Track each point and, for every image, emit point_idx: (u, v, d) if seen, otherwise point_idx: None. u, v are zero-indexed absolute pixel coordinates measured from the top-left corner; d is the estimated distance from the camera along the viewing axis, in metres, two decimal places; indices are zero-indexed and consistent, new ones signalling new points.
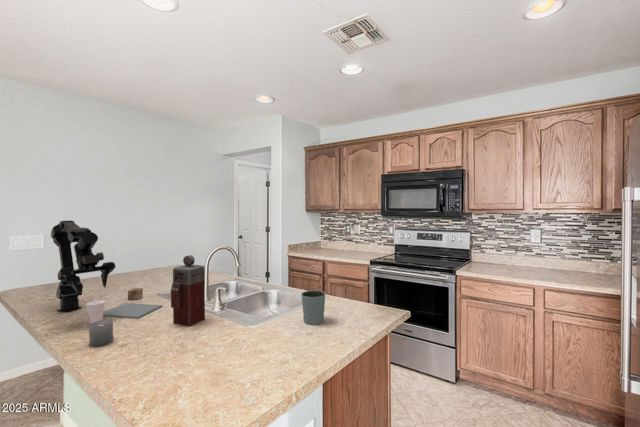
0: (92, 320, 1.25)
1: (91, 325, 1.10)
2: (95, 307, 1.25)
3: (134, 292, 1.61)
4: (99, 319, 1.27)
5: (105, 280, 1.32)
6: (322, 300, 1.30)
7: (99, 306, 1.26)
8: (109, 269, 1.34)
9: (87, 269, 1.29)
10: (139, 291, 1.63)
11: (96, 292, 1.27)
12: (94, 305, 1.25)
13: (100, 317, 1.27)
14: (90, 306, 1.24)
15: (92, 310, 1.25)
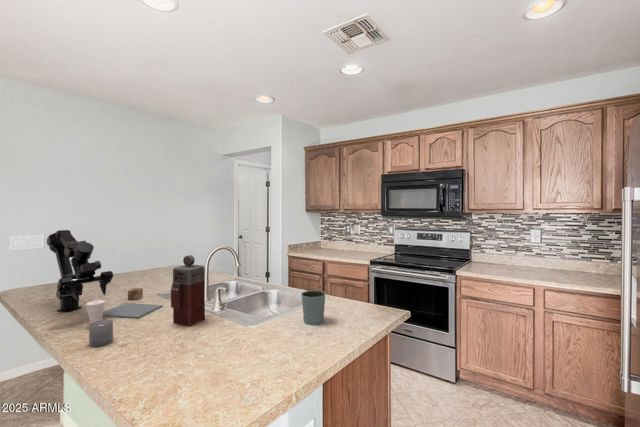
0: (92, 320, 1.25)
1: (91, 325, 1.10)
2: (95, 307, 1.25)
3: (134, 292, 1.61)
4: (99, 319, 1.27)
5: (104, 288, 1.34)
6: (322, 300, 1.30)
7: (99, 306, 1.26)
8: (107, 277, 1.37)
9: (86, 279, 1.32)
10: (139, 291, 1.63)
11: (96, 292, 1.27)
12: (94, 305, 1.25)
13: (100, 317, 1.27)
14: (90, 306, 1.24)
15: (92, 310, 1.25)
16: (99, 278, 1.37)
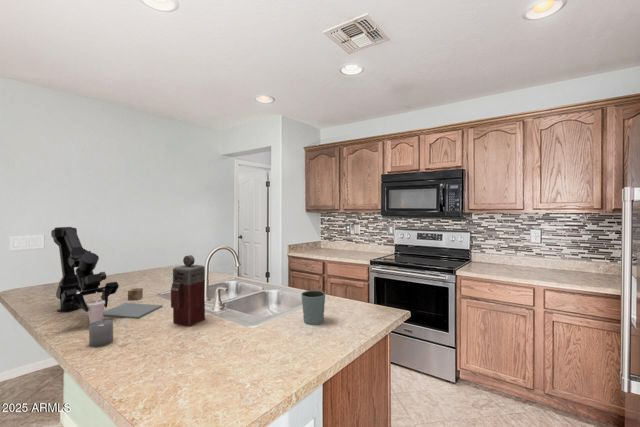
0: (92, 320, 1.25)
1: (91, 325, 1.10)
2: (95, 307, 1.25)
3: (134, 292, 1.61)
4: (99, 319, 1.27)
5: (106, 300, 1.30)
6: (322, 300, 1.30)
7: (99, 306, 1.26)
8: (109, 289, 1.32)
9: (94, 289, 1.30)
10: (139, 291, 1.63)
11: (96, 292, 1.27)
12: (94, 305, 1.25)
13: (100, 317, 1.27)
14: (90, 306, 1.24)
15: (92, 310, 1.25)
16: None
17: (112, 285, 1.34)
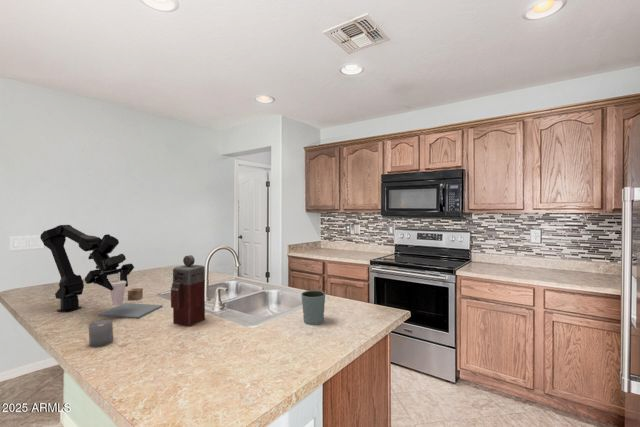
0: (116, 298, 1.34)
1: (91, 325, 1.10)
2: (119, 286, 1.34)
3: (134, 292, 1.61)
4: (122, 297, 1.36)
5: (126, 280, 1.40)
6: (322, 300, 1.30)
7: (123, 285, 1.35)
8: (127, 270, 1.42)
9: (113, 270, 1.38)
10: (139, 291, 1.63)
11: (119, 272, 1.36)
12: (119, 284, 1.34)
13: (123, 295, 1.36)
14: (115, 285, 1.33)
15: (116, 289, 1.34)
16: None
17: (129, 266, 1.43)
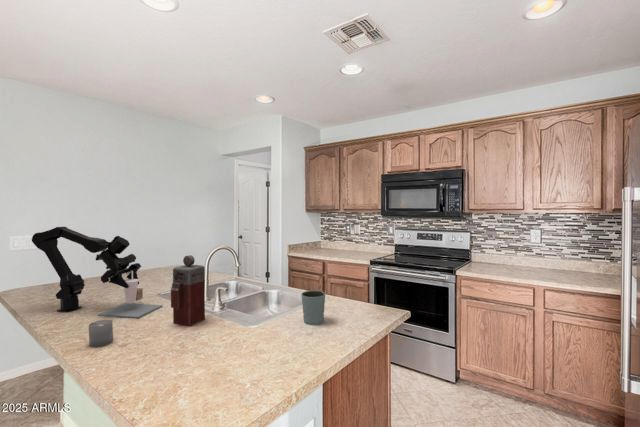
0: (130, 295, 1.43)
1: (91, 325, 1.10)
2: (134, 283, 1.43)
3: None
4: (135, 294, 1.45)
5: (137, 278, 1.48)
6: (322, 300, 1.30)
7: (137, 283, 1.45)
8: (136, 269, 1.50)
9: (124, 270, 1.46)
10: (139, 291, 1.63)
11: (132, 271, 1.45)
12: (134, 282, 1.43)
13: (136, 293, 1.45)
14: (130, 283, 1.42)
15: (131, 286, 1.43)
16: None
17: (137, 266, 1.52)
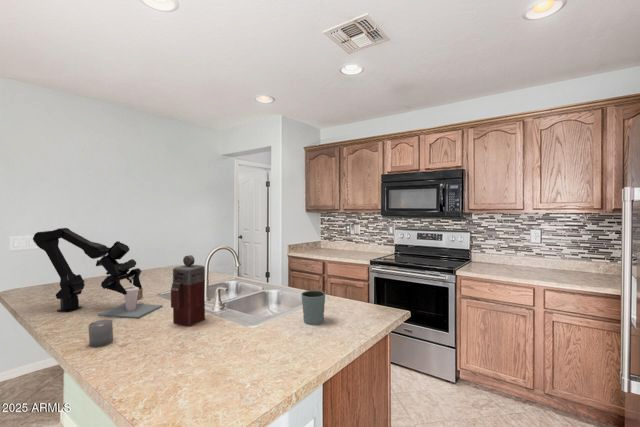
0: (131, 304, 1.43)
1: (91, 325, 1.10)
2: (134, 292, 1.43)
3: None
4: (136, 303, 1.45)
5: (139, 283, 1.50)
6: (322, 300, 1.30)
7: (137, 291, 1.45)
8: (139, 273, 1.52)
9: (123, 276, 1.45)
10: (139, 291, 1.63)
11: (132, 279, 1.45)
12: (134, 290, 1.43)
13: (136, 301, 1.46)
14: (130, 291, 1.42)
15: (132, 295, 1.43)
16: (130, 275, 1.50)
17: (138, 271, 1.52)
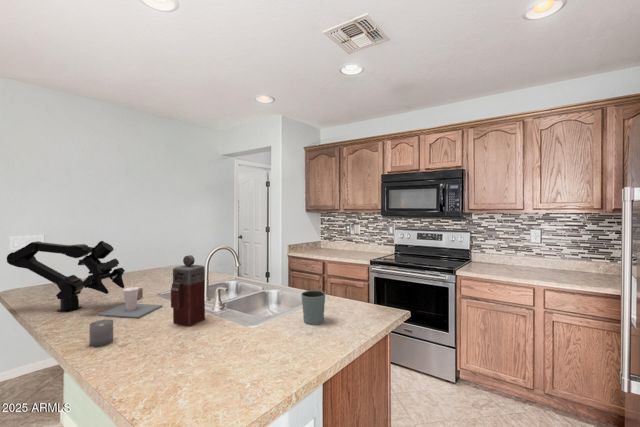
0: (131, 304, 1.43)
1: (92, 324, 1.11)
2: (134, 292, 1.43)
3: None
4: (136, 303, 1.45)
5: (122, 282, 1.51)
6: (322, 300, 1.30)
7: (137, 291, 1.45)
8: (122, 273, 1.53)
9: (105, 275, 1.46)
10: (139, 291, 1.63)
11: (132, 279, 1.45)
12: (134, 290, 1.43)
13: (136, 301, 1.46)
14: (130, 291, 1.42)
15: (131, 295, 1.43)
16: (113, 274, 1.51)
17: (121, 270, 1.53)
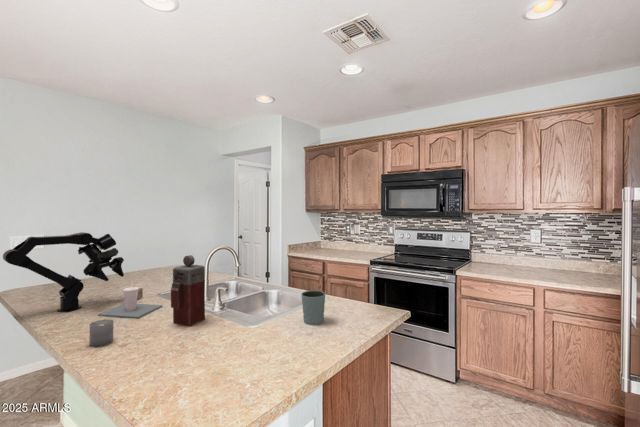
0: (131, 304, 1.43)
1: (92, 324, 1.11)
2: (134, 292, 1.43)
3: None
4: (136, 303, 1.45)
5: (121, 270, 1.57)
6: (322, 300, 1.30)
7: (137, 291, 1.45)
8: (121, 262, 1.59)
9: (105, 264, 1.52)
10: (139, 291, 1.63)
11: (132, 279, 1.45)
12: (134, 290, 1.43)
13: (136, 301, 1.46)
14: (130, 291, 1.42)
15: (132, 295, 1.43)
16: (113, 263, 1.57)
17: (120, 259, 1.59)
